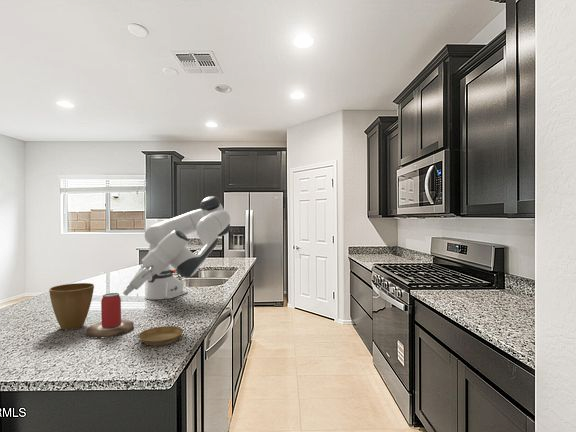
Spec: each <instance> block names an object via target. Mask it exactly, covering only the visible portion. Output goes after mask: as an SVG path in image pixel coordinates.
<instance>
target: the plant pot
mask: <svg viewBox="0 0 576 432" xmlns="http://www.w3.org/2000/svg"><path fill="white" fill-rule="evenodd" d="M48 290H49V296H50V301H51V303H50V304H51V307H52V310H53V313H54V316H55V318H56V321H57V324H58V325H59V328H60V329H61V330H64V331H69V330H71V329H72V330H76V328H77V329H79V328H82V327H83V326H84V325H85V323H86V322H85V321H86V319H87V317H88V314H89V311H90V308H91V304H92V299H93V294H94V290H95V284H94V283H91V282H89V283H88V282H79V283H77V282H75V283H67V284H60V285H55V286H52V287H50V288H49V289H48Z"/></svg>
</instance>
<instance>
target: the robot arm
mask: <svg viewBox="0 0 576 432" xmlns="http://www.w3.org/2000/svg"><path fill="white" fill-rule="evenodd" d="M199 205H200V208H198V209H194V210H191V211H188V212H185V213H183V214H180V215H178V216H175V217H172V218H169V219H166V220H162V221H160V222H157V223H154V224H151V225H150V226H148V227H147V228H146V230H145V233H144V239H145V241H146V242H147V243H148V244H149V245H148V246H149V247H148V248H149V249H148V252H147V254H146V255H145V256H144V257H143V258H142V259H141V262H142V264H140V268H139V269H138V271H137V272H136V273H135V275H134V276H133V278H132V279H131V281H130V282H129V284H128V285H127V286H126V289H125V290H124V291H123V292H122V294H123V295H124V296H128V295H130V293H131V292H133V291H134V290H136V291H137V290H139V288H141V287H142V286H143V285H144V283H146V281H147V285H146V286H147V287H146V293H145V297H144V298H145V299H147V300H164V299H165V300H166V299H167V300H168V299H169V300H170V299H173V298H177V297H179V296H182V295H185V294H187V293H189V292H188V290H187V289H184V284H183V282H182V281H181V280H180V279H178V278H177V277H175V276H174V275H173V274H176V273H178V274H179V276H181V278H191V277H192V276H194V275H195V274H196V273H197V272H198V270H199V269H200V267H201V265H202V264H203V263H204V261H205V260H206V259H207V258H208V257H209V256H210V254H211V253H212V251H214V249H215V248H216V246H217V245H218V243H219V238H218V237H223V236H225V235H227V234H228V233H229V232H230V231H231V224H230V222H231V216H230V214H229V212H228V211H226V210H225V209H224V206H223V205H222V204H221V200H220V198H219V197H218V196H214V195H211V196H207V197H205V198H204V199H202V200H201V202H200V204H199ZM195 232H196V235H197V236H198V239H199V240H200V242H201V244H202V248H201V250H200V251H198V253H197V254H195V253H194V252H193V251H191V250H190V249H189V248H188V247H187V245H188V244H189V242H190V240H189V238H188V237H187V235H189V234H193V233H195ZM171 267H172V268H173V269H171Z"/></svg>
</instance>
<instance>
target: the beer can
mask: <svg viewBox="0 0 576 432" xmlns="http://www.w3.org/2000/svg"><path fill="white" fill-rule="evenodd" d="M100 304H101V305H100V308H101V309H100V310H101V311H100V312H101V322H102V327H103V328H115V327H118V326H119V325H120V324H121V320H122V299H121V296H120V293H119V292H112V293H110V292H109V293H105V294H103V295H102V298H101V301H100Z"/></svg>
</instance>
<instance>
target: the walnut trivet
mask: <svg viewBox="0 0 576 432" xmlns="http://www.w3.org/2000/svg"><path fill="white" fill-rule="evenodd" d="M134 326H135V325H134V321H132V320H129V319H121V324H120V325H119V326H118V327H115V328H103V327H102V321H101V322H98V323H94V324H92V325H90V326H88V327H87V328H86V330H85V336H86V335H87V336H86V337H88V338H91V337H97V338H96V339H102V338H101V337H107V338H111V336H113V337H117V336H116V335H118V336H120V335H123V334H127V333H129V332H130V331H132V330H133V329H134V328H135V327H134ZM99 337H100V338H99Z"/></svg>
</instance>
